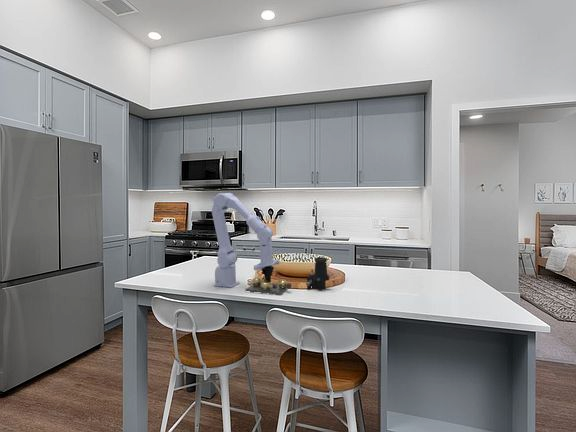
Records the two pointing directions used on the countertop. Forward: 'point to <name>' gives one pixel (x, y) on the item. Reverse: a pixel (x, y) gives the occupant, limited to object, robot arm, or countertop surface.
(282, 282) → the foot screw
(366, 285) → the countertop surface
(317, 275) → the scope
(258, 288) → the leveling base
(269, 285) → the footscrew right
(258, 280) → the foot screw
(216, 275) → the robot arm
